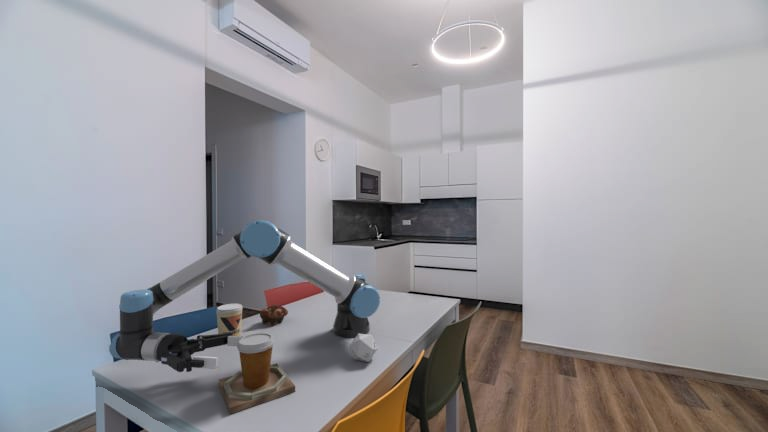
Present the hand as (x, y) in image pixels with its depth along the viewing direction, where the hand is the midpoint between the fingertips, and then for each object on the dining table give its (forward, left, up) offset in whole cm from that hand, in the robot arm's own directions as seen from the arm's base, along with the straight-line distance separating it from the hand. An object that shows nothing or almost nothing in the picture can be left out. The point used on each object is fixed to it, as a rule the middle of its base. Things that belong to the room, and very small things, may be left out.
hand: (234, 351), depth 85 cm
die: (-38, +7, -10) cm, 40 cm away
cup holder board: (-5, +4, -10) cm, 12 cm away
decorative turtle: (-25, -47, -10) cm, 54 cm away
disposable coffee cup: (-5, +4, -8) cm, 11 cm away
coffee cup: (-6, -41, -10) cm, 42 cm away
